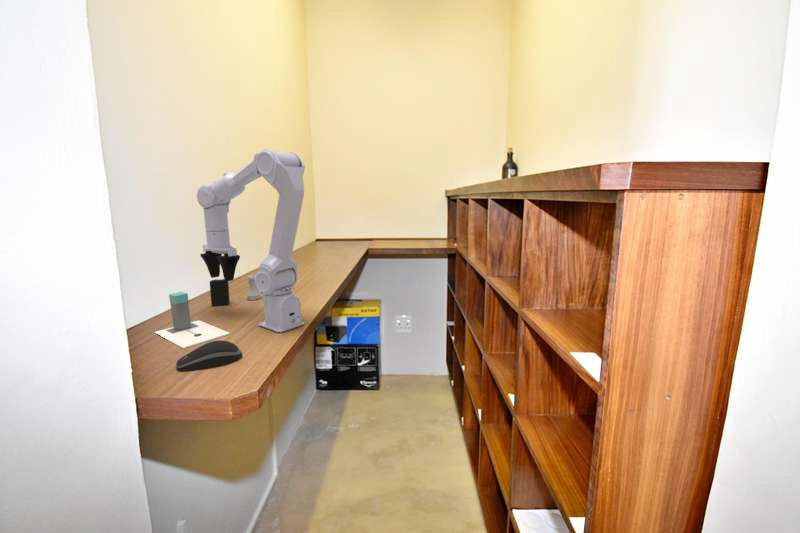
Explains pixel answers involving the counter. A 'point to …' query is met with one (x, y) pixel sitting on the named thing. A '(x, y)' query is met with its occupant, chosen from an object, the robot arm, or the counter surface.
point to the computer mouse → (209, 356)
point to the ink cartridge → (219, 292)
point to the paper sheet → (192, 334)
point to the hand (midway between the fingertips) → (222, 278)
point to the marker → (180, 311)
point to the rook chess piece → (252, 289)
